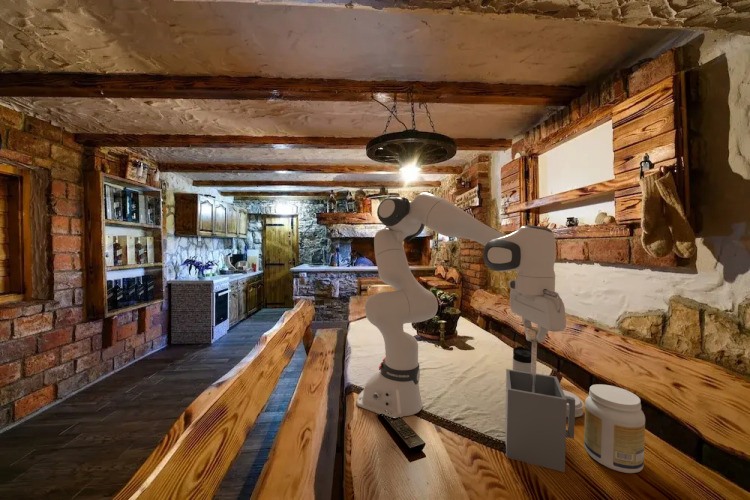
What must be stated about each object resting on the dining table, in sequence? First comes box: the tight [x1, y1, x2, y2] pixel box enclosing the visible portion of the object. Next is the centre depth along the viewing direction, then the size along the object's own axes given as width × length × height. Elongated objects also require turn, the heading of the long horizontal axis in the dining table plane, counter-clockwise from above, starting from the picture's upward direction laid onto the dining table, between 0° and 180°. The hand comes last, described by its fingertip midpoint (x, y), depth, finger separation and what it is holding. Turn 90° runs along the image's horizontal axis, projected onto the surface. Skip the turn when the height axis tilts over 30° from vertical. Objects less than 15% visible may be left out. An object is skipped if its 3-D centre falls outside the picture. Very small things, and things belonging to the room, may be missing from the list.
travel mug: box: [512, 345, 532, 373], centre depth 100 cm, size 6×7×20 cm
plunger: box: [525, 326, 542, 393], centre depth 80 cm, size 10×10×22 cm
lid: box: [562, 389, 585, 418], centre depth 100 cm, size 13×13×5 cm
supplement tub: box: [583, 383, 646, 474], centre depth 77 cm, size 12×12×17 cm
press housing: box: [504, 368, 576, 473], centre depth 80 cm, size 16×13×18 cm
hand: (534, 337), depth 80 cm, fingers closed on plunger, 4 cm apart
